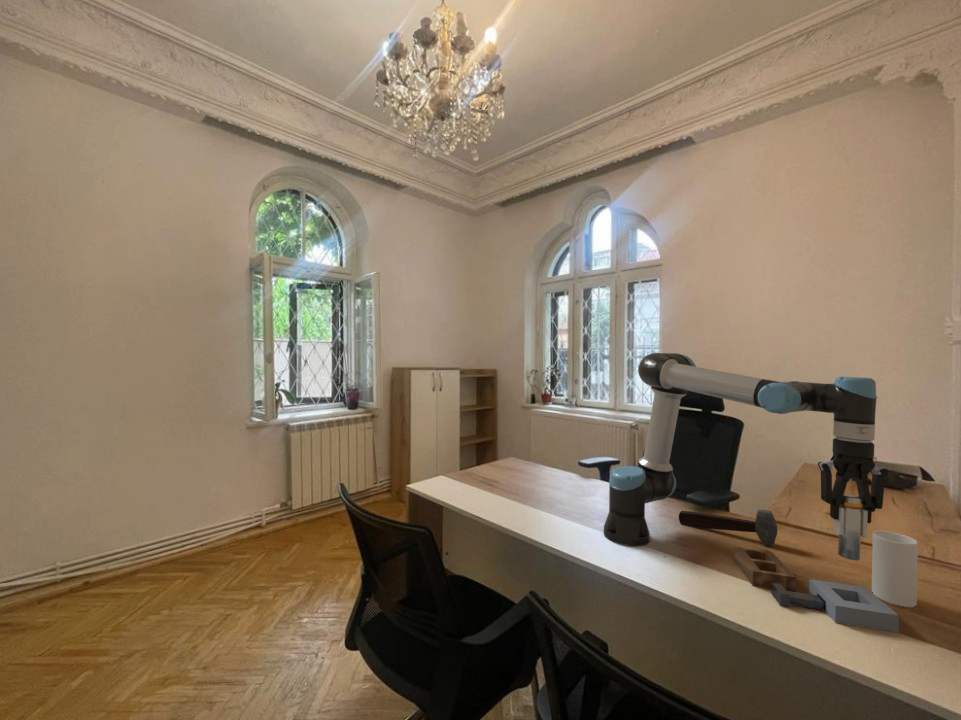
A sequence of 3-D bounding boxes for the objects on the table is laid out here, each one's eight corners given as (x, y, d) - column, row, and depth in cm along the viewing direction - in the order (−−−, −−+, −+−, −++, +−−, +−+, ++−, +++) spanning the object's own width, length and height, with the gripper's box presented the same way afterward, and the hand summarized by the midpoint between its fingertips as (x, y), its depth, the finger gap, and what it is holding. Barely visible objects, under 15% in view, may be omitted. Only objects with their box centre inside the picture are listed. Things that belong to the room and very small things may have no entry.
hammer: (680, 535, 150) (779, 549, 131) (676, 504, 151) (774, 513, 132) (683, 531, 154) (779, 543, 135) (679, 501, 155) (774, 509, 136)
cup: (863, 589, 109) (864, 530, 109) (890, 588, 109) (891, 530, 109) (897, 608, 100) (898, 544, 101) (926, 607, 101) (927, 543, 101)
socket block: (835, 622, 94) (835, 605, 94) (808, 594, 106) (809, 579, 106) (898, 632, 91) (898, 615, 91) (864, 602, 103) (864, 586, 103)
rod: (843, 559, 97) (845, 497, 97) (833, 550, 102) (835, 492, 101) (865, 562, 96) (867, 500, 96) (854, 553, 100) (856, 494, 100)
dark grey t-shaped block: (780, 605, 100) (780, 593, 100) (771, 594, 105) (771, 582, 105) (827, 612, 98) (828, 600, 98) (816, 601, 102) (817, 589, 102)
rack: (752, 585, 109) (752, 571, 109) (734, 559, 124) (734, 546, 124) (795, 592, 107) (795, 577, 107) (771, 565, 121) (771, 551, 121)
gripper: (820, 439, 97) (816, 535, 97) (908, 445, 93) (904, 545, 93) (804, 434, 104) (801, 522, 105) (885, 439, 100) (881, 532, 100)
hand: (849, 533), depth 99 cm, fingers closed on rod, 4 cm apart
